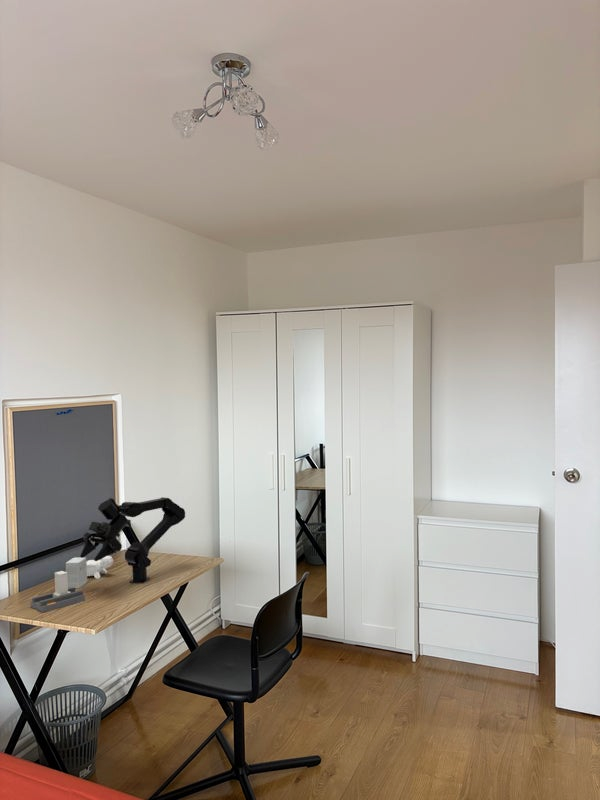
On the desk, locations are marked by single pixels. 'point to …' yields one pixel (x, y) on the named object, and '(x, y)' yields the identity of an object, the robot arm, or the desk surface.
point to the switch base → (57, 600)
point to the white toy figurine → (98, 566)
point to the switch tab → (61, 584)
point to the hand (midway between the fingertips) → (87, 558)
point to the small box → (76, 572)
